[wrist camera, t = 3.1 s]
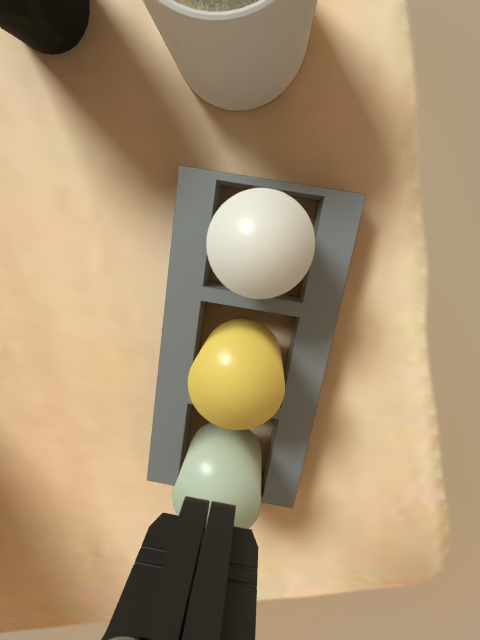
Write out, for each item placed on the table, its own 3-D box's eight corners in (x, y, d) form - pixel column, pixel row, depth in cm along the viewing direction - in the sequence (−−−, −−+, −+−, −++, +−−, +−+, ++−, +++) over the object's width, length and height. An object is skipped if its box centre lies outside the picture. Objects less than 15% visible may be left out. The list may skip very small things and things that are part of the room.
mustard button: (273, 398, 25) (275, 437, 20) (198, 385, 25) (182, 420, 20) (288, 326, 23) (293, 349, 19) (208, 312, 24) (193, 331, 19)
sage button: (255, 489, 27) (252, 545, 22) (185, 476, 27) (168, 529, 22) (267, 427, 25) (267, 472, 21) (194, 414, 26) (177, 455, 21)
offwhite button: (295, 292, 23) (303, 307, 18) (214, 278, 23) (199, 289, 18) (312, 206, 22) (325, 197, 17) (225, 192, 22) (213, 179, 17)
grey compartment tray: (290, 485, 30) (292, 508, 27) (156, 460, 30) (146, 480, 28) (355, 198, 24) (366, 194, 21) (187, 172, 24) (179, 165, 22)
